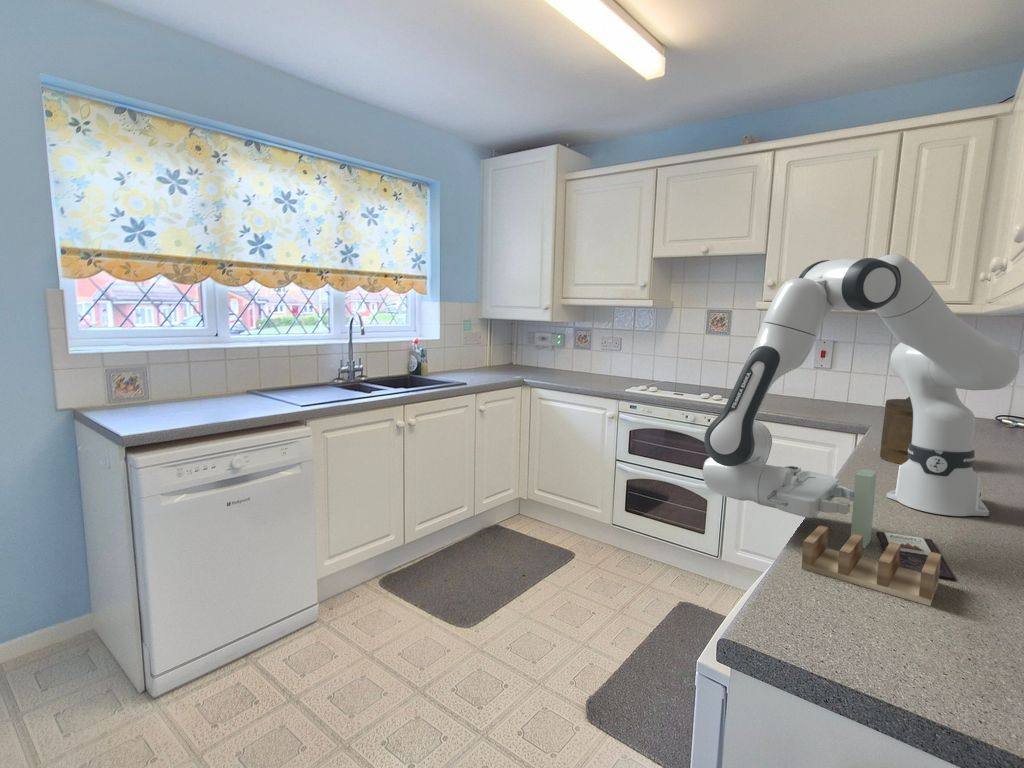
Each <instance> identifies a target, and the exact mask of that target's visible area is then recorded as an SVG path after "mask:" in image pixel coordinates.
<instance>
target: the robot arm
mask: <svg viewBox="0 0 1024 768" xmlns="http://www.w3.org/2000/svg"><path fill="white" fill-rule="evenodd" d="M833 310H834V311H839V312H840V311H841V312H843V311H858V312H868V311H872V310H874V311H875V313H876V314H877V316H879V318H880V319H881V320H882V322H883V323H884V324H885V326H886V327H887V329H888V330H889V331H890V333H891V334H892V335H893V337H894V338H895V339H896V340H897V341H898V342H900V343H898V344H897V345H896V346H895V347H894V349H893V350H892V352H891V355H890V367H891V370H892V371H893V373H894V374H895V376H897V377H898V378H899V379H900V380H901V382H902V383H903V385H904V386H905V389H906V391H907V393H908V397H909V396H910V399H911V403H912V407H913V430H912V442H911V443H909V448H908V458H909V459H908V460H907V461H906V462H905V463H903V464H899V466H898V473H897V480H896V487H895V488H894V489H893V490H891V491H890V490H889V491H888V492H887V493H886V498H889V499H891V500H894V501H896V502H898V503H900V504H902V505H904V506H906V507H908V508H912V509H915V510H916V511H917V510H918V511H922V512H926V513H930V514H935V515H943V516H951V517H971V516H973V517H974V516H975V517H978V516H979V517H989V516H990V511H989V510H988V508H987V506H986V505H985V504H984V502H983V501H982V499H981V498H980V497H981V495H982V492H981V491H980V487H981V477H979V475H978V474H977V473H976V472H975V470H974V469H973V467H974V465H975V464H974V463H975V459H976V456H975V455H976V454H975V450H974V438H975V429H976V417H975V414H974V413H973V411H972V410H971V409H970V408H969V407H968V406H966V405H964V403H963V402H962V401H961V399H960V398H959V395H958V392H957V389H959V390H968V391H991V390H993V391H994V390H1001V389H1003V388H1006V387H1007V386H1009V385H1010V384H1011V383H1013V381H1014V380H1015V379H1016V377H1017V376H1018V373H1019V372H1020V371H1019V370H1020V360H1019V356H1018V354H1017V352H1016V350H1015V349H1014V348H1012V347H1011V346H1010V345H1008V344H1004V343H1002V342H999V341H997V340H994V339H993V338H992V337H991V338H990V337H988V336H987V335H985V334H983V333H982V332H980V331H978V330H977V329H975V327H973V326H971V325H970V324H968V323H966V322H965V321H964V320H963V319H962V318H960V317H959V316H958V315H956V314H955V313H954V312H953V310H951V308H949V306H948V305H947V304H946V302H945V300H943V298H942V297H941V296H940V294H939V293H938V292H937V290H936V288H935V287H934V285H932V283H931V281H930V280H929V279H928V278H927V276H926V275H925V274H924V273H923V272H922V270H920V268H918V267H917V266H916V265H915V264H914V263H913V262H912V261H911V260H910V259H909V258H907V257H905V256H904V255H901V254H897V253H891V254H885V255H882V256H880V257H877V258H875V257H866V258H863V257H842V258H838V259H831V260H829V259H824V260H820V261H816V262H814V263H812V264H810V265H809V266H807V267H806V268H804V270H802V271H801V274H800V275H799V276H798V277H796V278H791V279H788V280H787V281H785V282H783V284H782V285H781V286H780V287H779V289H778V291H777V292H776V294H775V296H774V297H773V299H772V301H771V303H770V305H768V309H767V311H766V312H765V313H766V314H765V315H764V318H763V321H762V322H761V325H760V328H759V331H758V333H757V337H756V338H755V340H754V345H753V347H752V349H751V351H750V353H749V356H748V357H747V360H746V361H745V364H744V366H743V367H742V369H741V371H740V373H739V376H738V377H737V380H736V382H735V384H734V386H733V389H732V391H731V393H730V395H729V397H728V398H727V399H728V400H727V401H726V404H725V406H724V407H723V410H722V411H721V413H720V414H719V415H718V416H717V417H716V418H715V419H714V420H713V421H712V422H711V423H710V424H709V426H708V427H707V428H706V430H705V434H704V438H703V439H704V441H703V443H704V447H705V450H706V453H707V454H708V456H709V457H708V458H707V459H705V461H704V462H703V467H702V477H703V479H702V480H703V482H704V484H705V485H706V487H707V489H708V490H710V491H711V492H713V493H715V494H718V495H719V496H723V497H727V498H729V499H734V500H738V501H749V502H754V503H756V504H758V505H759V506H760V505H761V506H764V507H768V508H772V509H778V511H779V510H780V511H782V512H785V513H787V514H792V515H795V516H799V517H803V518H811V519H812V518H815V517H816V516H817V515H819V513H824V514H825V513H826V514H827V513H828V514H829V513H831V514H835V513H836V514H842V515H848V514H849V513H850V512H851V511H850V510H851V505H850V504H849V502H850V501H852V502H854V490H852V489H850V488H847V487H845V486H842V485H841V480H840V479H839V478H838V477H835V476H833V475H828V474H824V473H820V472H817V471H816V472H815V471H810V470H802V468H801V467H800V466H795V465H790V466H789V465H788V466H776V465H772V464H771V465H770V464H767V461H768V459H769V457H770V452H771V449H772V446H773V436H772V434H771V432H770V430H769V428H768V427H766V425H764V424H763V423H762V422H759V420H758V421H757V420H756V419H757V416H758V414H759V413H760V410H761V408H762V405H763V404H764V401H765V399H766V397H767V395H768V392H769V390H770V389H771V387H773V386H772V385H774V384H775V382H776V381H777V380H779V379H780V378H781V377H782V376H784V375H786V374H788V373H789V372H791V371H792V372H793V371H794V370H796V369H797V368H799V367H802V365H803V364H804V362H805V360H807V357H808V356H809V354H810V352H812V349H813V347H814V344H815V342H816V340H817V337H818V335H819V332H820V330H821V326H822V322H823V320H824V319H825V317H826V316H827V315H828V314H829V313H830V312H831V311H833ZM836 498H840V499H841V498H843V499H847V500H849V502H848V503H847V502H846V503H845V502H842V501H839V502H838V501H834V499H836Z"/></svg>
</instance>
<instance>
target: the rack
mask: <svg viewBox="0 0 1024 768" xmlns="http://www.w3.org/2000/svg"><path fill="white" fill-rule="evenodd" d="M828 536H829V527H828V526H823V525H818V526H817V527H816V528H814V530H813V531H812V532H811V533H810V534H809V535H808V536H807V537H806V538H805V539H804V540H803V542H802V543H803V544H802V557H801V569H802V570H806V571H808V572H812V573H816V574H819V575H822V576H826V577H830V578H833V579H837V580H839V581H843V582H846V583H850V584H853V585H857V586H860V587H863V588H867V589H870V590H875V591H877V592H880V593H883V594H884V593H885V594H887V595H892V596H895V597H897V598H901V599H904V600H908V601H912V602H915V603H919V604H922V605H925V606H929V607H931V605H932V602H933V599H934V597H935V595H936V591H937V588H938V586H939V580H940V579H939V572H940V562H941V556H942V554H941V553H940V554H939V553H934V552H929V555H928V557H927V559H926V562H925V564H924V566H923V569H922V571H921V572H917V571H913V570H909V569H905V568H902V567H899V557H900V546H901V544H896V543H892V542H890V543H889V545H888V546H887V548H886V549H885V551H884V552H883V553H882V554H881V556H880V558H878V559H879V560H874V559H870V558H867V557H863V556H862V555H863V554H862V553H863V548H862V543H863V536H862V535H858V534H854V533H853V534H852V536H851V535H850V537H849V538H848V539H847V541H846V542H845V543H844V545H842V547H841V548H840V549H839V550H836V549H833V548H828V539H829V537H828Z"/></svg>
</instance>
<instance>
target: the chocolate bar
mask: <svg viewBox="0 0 1024 768" xmlns="http://www.w3.org/2000/svg"><path fill="white" fill-rule="evenodd" d="M876 533H877V534H876V536H877V535H878V537H877V539H878V538H879V539H878V542H879V541H880V542H879V543H881V544H880V547H881V546H882V547H881V549H883V550H882V552H883V551H885V549H886V548H887V546H888V545H889V543H890V542H892V543H896V544H901V546H900V557H899V567H902V568H905V569H909V570H913V571H917V572H921V571H922V569H923V566H924V564H925V562H926V559H927V557H928V555H929V552H934V553H939V554H941V552H940V551H939V548H937V546H936V545H935V543H934V541H933V539H931V538H924V537H918V536H910V535H906V534H904V535H903V534H899V533H891V532H885V531H879V530H877V531H876ZM939 580H944V581H945V580H946V581H949V580H950V582H956V580H957V579H956V577H955V575H954V573H953V572H952V570H951V569H950V567H949V565H948V564H947V562H946V560H945V559H944V557H943V555H941V562H940V572H939Z"/></svg>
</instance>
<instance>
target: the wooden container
mask: <svg viewBox="0 0 1024 768" xmlns="http://www.w3.org/2000/svg"><path fill="white" fill-rule="evenodd" d="M882 423H883V424H882V430H881V442H880V454H879V457H880V458H881V459H882V460H885V461H887V462H890V463H895V464H899V465H902V464H903V463H905V462H906V461H907V460H908V459H909V458H908V448H909V443H911V442H912V430H913V407H912V403H911V399H910V396H909V395H908V397H907V398H891V399H889V398H888V399H886V400H885V405H884V415H883V422H882Z"/></svg>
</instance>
